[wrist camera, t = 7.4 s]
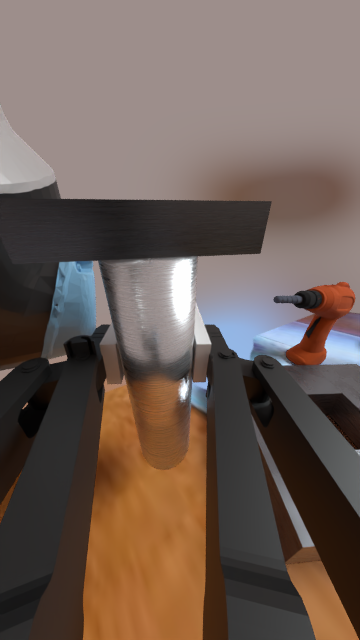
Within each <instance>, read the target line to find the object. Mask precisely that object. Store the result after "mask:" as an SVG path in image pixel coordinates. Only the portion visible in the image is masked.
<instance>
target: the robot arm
mask: <svg viewBox="0 0 360 640" xmlns="http://www.w3.org/2000/svg"><path fill="white" fill-rule="evenodd" d="M0 198H15V199H61V198H60V194H59V190H58V186H57V182H56V178H55V174H54V171H53V170H52V168H51V167H50V166H49V165H48V164H47V163H46V162H45V161H44V160H43V159H42V158H41V157H40V156H39V155H38V154H37V153H36V152H35V151H34V150H33V149H32V148H31V147H29V146H28V144H26V143H25V142H24V141H23V140H22V139H21V138H20V137H19V136H18V135H17V134H16V133H15V132H14V131H13V129H12V128H11V126H10V124H9V122H8V121H7V119H6V117H5V115H4V113H3V110H2V107H1V104H0ZM92 267H93V261H76V262H52V263H29V264H13V263H12V261H11V259H10V257H9V255H8V253H7V251H6V249H5V246H4V244H3V242H2V240H1V238H0V371H1V370H5V369H11V368H15V369H13V370H12V371H11V372H10V373H9V374H8V375H7V376H6V377H5V378H3V379H2V380H1V381H0V504H1V502H2V501H3V499H4V498H5V496H6V494H7V493H8V491H9V489H10V488H11V486H12V485H13V483H14V481H15V480H16V478H17V477H18V475H19V473H20V472H21V470H22V472H21V474H20V477H19V479H18V482H17V484H16V487H15V489H14V492H13V494H12V497H11V499H10V501H9V504H8V506H7V509H6V511H5V514H4V516H3V519H2V521H1V524H0V640H83V628H84V614H83V588H84V578H85V569H86V560H87V551H88V541H89V532H90V523H91V513H92V504H93V495H94V486H95V476H96V467H97V458H98V449H99V439H100V430H101V421H102V411H103V402H104V393H105V389H104V381H105V379H107V383H108V384H121V383H122V380H123V376H124V371H123V367H122V363H121V358H120V354H119V350H118V345H117V341H116V336H115V332H114V328H113V323H111V325H101V326H99V327H98V328H96V297H95V280H94V272H93V270H92ZM64 355H67V357H68V359H67V361H63V362H59V363H54V364H49V361H48V359H52V358H56V357H60V356H64ZM206 377H207V378H208V386H207V392H206V397H207V477H206V582H205V596H204V611H203V640H316V639H315V635H314V632H313V629H312V625H311V622H310V619H309V616H308V613H307V611H306V608H305V606H304V603H303V601H302V598H301V596H300V595H299V593H298V591H297V590H296V588H295V587H294V585H293V583H292V582H291V580H290V577H289V575H288V572H287V568H286V565H285V561H284V557H283V552H282V548H281V543H280V539H279V535H278V530H277V526H276V521H275V517H274V513H273V508H272V504H271V499H270V495H269V491H268V486H267V482H266V477H265V473H264V468H263V464H262V460H261V455H260V451H259V446H258V442H257V438H256V433H255V429H254V424H253V420H252V417H253V419H254V421H255V423H256V425H257V427H258V429H259V431H260V433H261V435H262V438H263V440H264V442H265V444H266V446H267V448H268V450H269V452H270V454H271V456H272V458H273V460H274V463H275V465H276V467H277V469H278V471H279V473H280V475H281V477H282V479H283V481H284V483H285V485H286V488H287V490H288V492H289V494H290V496H291V498H292V500H293V502H294V504H295V506H296V508H297V511H298V513H299V515H300V517H301V519H302V521H303V523H304V525H305V527H306V529H307V531H308V533H309V536H310V538H311V540H312V542H313V544H314V546H315V548H316V550H317V552H318V554H319V556H320V558H321V561H322V563H323V565H324V567H325V569H326V571H327V573H328V575H329V577H330V579H331V581H332V584H333V586H334V588H335V590H336V592H337V594H338V596H339V598H340V600H341V602H342V604H343V606H344V609H345V611H346V613H347V615H348V617H349V619H350V621H351V623H352V625H353V627H354V629H355V631H356V634H357V636H358V638H359V640H360V455H359V454H358V453H357V452H356V451H355V450H354V448H353V447H352V446H351V445H350V444H349V443H348V441H347V440H346V439H345V438H344V437H343V436H342V434H341V433H340V432H339V431H338V430H337V429H336V427H335V426H334V425H333V424H332V423H331V422H330V421H329V419H328V418H327V417H326V416H325V415H324V414H323V412H322V411H321V410H320V409H319V408H318V407H317V405H316V404H315V403H314V402H313V401H312V400H311V398H310V397H309V396H308V395H307V394H306V393H305V392H304V390H303V389H302V388H301V387H300V386H299V385H298V383H297V382H296V381H295V380H294V379H293V378H292V376H291V375H290V374H289V373H288V372H287V371H286V369H285V368H284V367H283V366H282V365H281V364H280V363H279V362H278V361H277V360H276V359H274V358H272V357H270V356H266V355H259V356H256V357H255V358H254V361H250V360H245V359H241V358H239V357H238V355H237V353H235V352H234V351H233V350H231V349H229V348H228V346H227V344H226V342H225V340H224V338H223V336H222V334H221V332H220V330H219V328H217V327H216V326H215V325H204V323H203V320H202V317H201V315H200V312H199V309H198V307H197V304H196V305H195V326H194V348H193V369H192V380H193V382H206ZM27 402H28V405H27V406H26V407H25V408H24V409H22V408H23V407H24V406H25V404H26V403H27ZM251 415H252V416H251ZM22 468H23V469H22Z"/></svg>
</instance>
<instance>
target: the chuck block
mask: <svg viewBox="0 0 360 640" xmlns="http://www.w3.org/2000/svg"><path fill="white" fill-rule="evenodd" d="M283 367H284V368H285V369H286V371H287V372H288V373H289V374H290V375H291V376H292V378H293V379H294V380H295V381H296V382H297V383H298V385H299V386H300V387H301V388H302V389H303V390H304V392H305V393H306V394H307V395H308V396H309V397H310V398H311V400H312V401H313V402H314V403H315V404H316V405H317V407H318V408H319V409H320V410H321V411H322V412H323V414H324V415H328V414H329V416H330V417H331V418H332V419H333V420H334V421H335V422H336V424H337V425H338V426H339V427H340V428H341V429H342V430H343V432H344V433H345V434H346V435H347V436H348V437H349V439H350V440H351V441H352V442H353V443H354V444H355V445H356V447H357V448H358V449H359V450H355V451H356V452H357V453H358V454H359V455H360V366H358V365H357V364H345V365H292V366H283ZM251 416H252V415H251ZM252 420H253V424H254V429H255V433H256V438H257V442H258V446H259V451H260V455H261V460H262V464H263V468H264V473H265V477H266V482H267V486H268V491H269V495H270V499H271V504H272V508H273V513H274V517H275V521H276V526H277V530H278V535H279V539H280V543H281V548H282V552H283V557H284V561H285V564H291V563H300V562H309V561H318V560H321V558H320V556H319V554H318V552H317V550H316V548H315V546H314V544H313V542H312V540H311V538H310V536H309V533H308V531H307V529H306V527H305V525H304V523H303V521H302V519H301V517H300V515H299V513H298V511H297V508H296V506H295V504H294V502H293V500H292V498H291V496H290V494H289V492H288V490H287V488H286V485H285V483H284V481H283V479H282V477H281V475H280V473H279V471H278V469H277V467H276V465H275V463H274V460H273V458H272V456H271V454H270V452H269V450H268V448H267V446H266V444H265V442H264V440H263V438H262V435H261V433H260V431H259V429H258V427H257V425H256V423H255V421H254V419H253V417H252Z"/></svg>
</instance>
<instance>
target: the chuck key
mask: <svg viewBox="0 0 360 640" xmlns="http://www.w3.org/2000/svg"><path fill="white" fill-rule="evenodd" d="M270 206H271V201H194V200H188V201H187V200H105V199H104V200H101V199H99V200H97V199H96V200H95V199H15V198H0V238H1V240H2V242H3V244H4V246H5V249H6V251H7V253H8V255H9V257H10V259H11V261H12V263H13V264H29V263H52V262H76V261H97V260H98V262H99V266H100V270H101V275H102V279H103V284H104V288H105V292H106V297H107V301H108V306H109V310H110V314H111V319H112V323H113V328H114V332H115V336H116V341H117V345H118V350H119V354H120V358H121V363H122V367H123V371H124V375H125V380H126V384H127V389H128V393H129V398H130V402H131V406H132V411H133V415H134V419H135V424H136V428H137V432H138V437H139V441H140V446H141V450H142V454H143V456H144V458H145V460H146V461H147V463H148V464H149V465H151V466H152V467H154V468H156V469H160V470H167V469H171V468H173V467H175V466H177V465H178V464H179V463H180V462H181V461H182V460H183V459H184V457H185V456H186V454H187V451H188V447H189V433H190V412H191V390H192V369H193V348H194V326H195V305H196V284H197V283H196V282H197V262H198V256H215V255H238V254H260V253H261V248H262V243H263V239H264V234H265V229H266V225H267V220H268V215H269V211H270Z"/></svg>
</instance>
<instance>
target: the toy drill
mask: <svg viewBox="0 0 360 640" xmlns="http://www.w3.org/2000/svg"><path fill="white" fill-rule="evenodd" d="M274 302H275V303H292V304H294V305H295V306H296V307H298V308H304V309H306V310H308V311H310V312H312V313H315V314H316V315H315V316H314V318H313V320H312V321H311V323H310V325H309V327H308V328H307V330H306V332H305V334H304V337H303V339H302V340H301V342H300V343H299V344H297V345H295V346H294V347H292V348H291V349H289V350H288V351H287V352H286V357H287V358H288V359H289V360H290V361H291V362H293V363H294V364H296V365H319V364H321V363H322V362H323V361H324V360H325V359H326V352H327V351H326V349H325V348H324V346H325V341H326V339H327V336H328V334H329V332H330V330H331V328H332V327H333V325H334V323H335V322H336V320H337V319H339V318H341V317H343V316H344V315H346V314H347V313H349V311H350V310H351V309H352V307H353V305H354V302H355V294H354V292H353V291H352V290H351V289H350V286H349V284H348V283H346V282H339V283H338V284H337V285H323V286H317V287H314V288H312V289H309V290H306V291H299V292H297V293H296V294H295V295H294V296H276V297H274Z"/></svg>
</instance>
